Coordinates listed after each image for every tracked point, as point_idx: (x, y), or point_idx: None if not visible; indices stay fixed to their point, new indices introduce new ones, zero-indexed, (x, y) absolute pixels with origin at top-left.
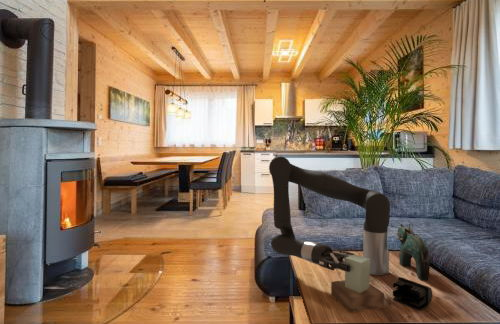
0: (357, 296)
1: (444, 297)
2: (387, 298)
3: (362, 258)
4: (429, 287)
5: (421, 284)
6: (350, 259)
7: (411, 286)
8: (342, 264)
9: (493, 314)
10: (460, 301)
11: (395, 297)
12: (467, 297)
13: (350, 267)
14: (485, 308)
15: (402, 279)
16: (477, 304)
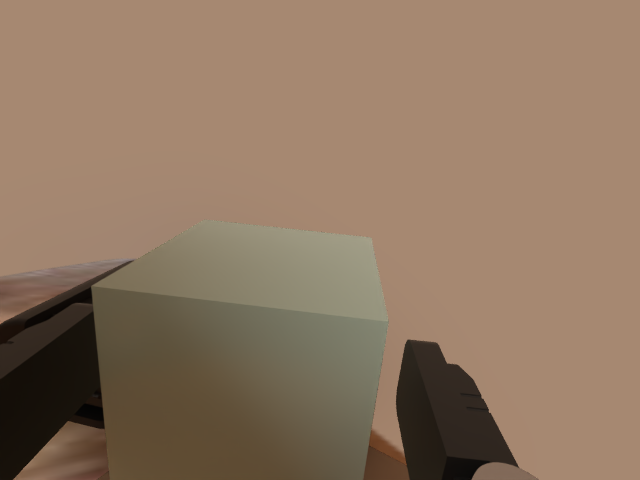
0: (402, 469)
1: (22, 310)
2: (100, 454)
3: (242, 238)
4: (131, 261)
5: (111, 271)
6: (380, 284)
7: None
8: (462, 420)
9: (123, 259)
10: (52, 288)
11: (93, 415)
12: (10, 280)
13: (403, 357)
14: (89, 264)
15: (49, 314)
16: (65, 270)
